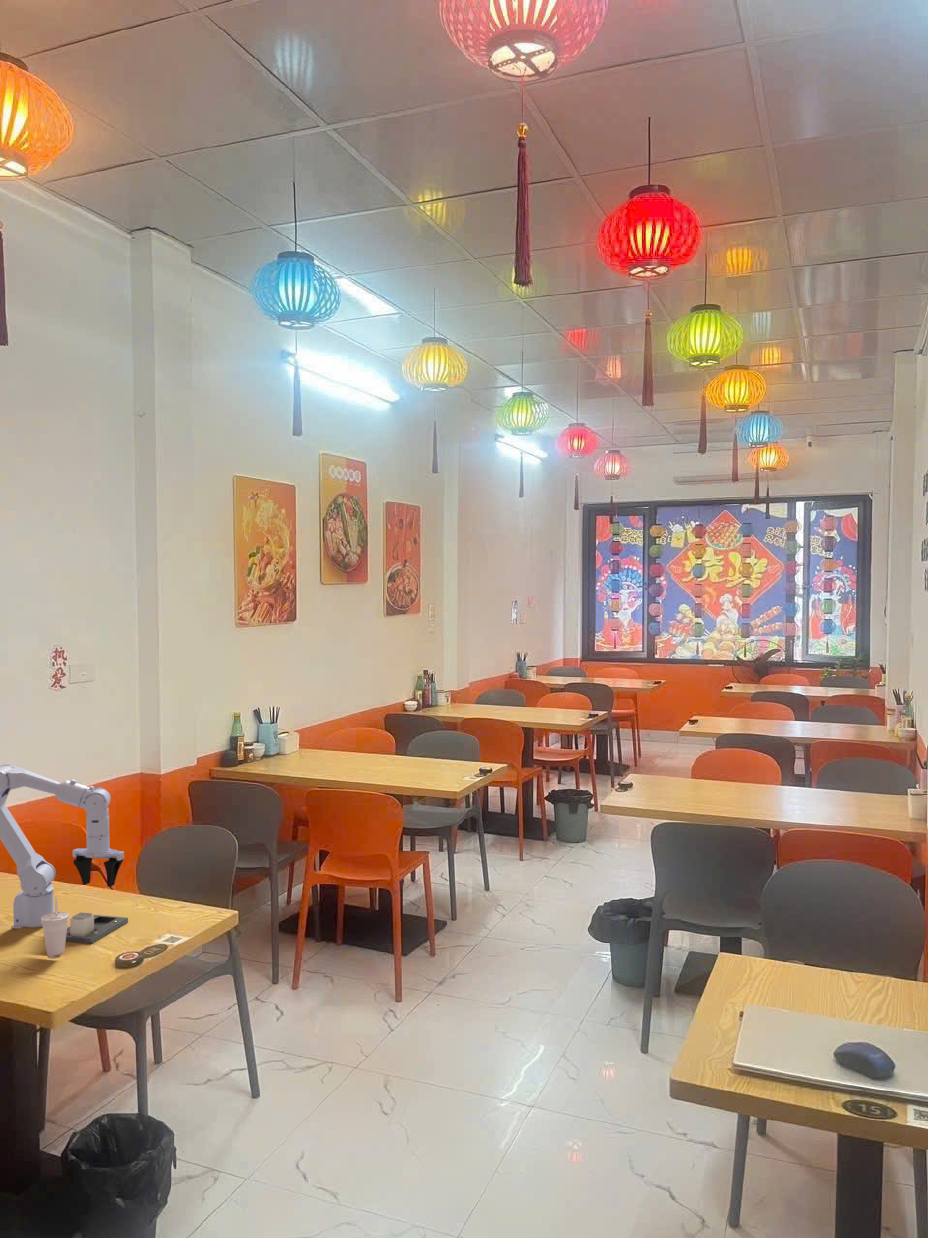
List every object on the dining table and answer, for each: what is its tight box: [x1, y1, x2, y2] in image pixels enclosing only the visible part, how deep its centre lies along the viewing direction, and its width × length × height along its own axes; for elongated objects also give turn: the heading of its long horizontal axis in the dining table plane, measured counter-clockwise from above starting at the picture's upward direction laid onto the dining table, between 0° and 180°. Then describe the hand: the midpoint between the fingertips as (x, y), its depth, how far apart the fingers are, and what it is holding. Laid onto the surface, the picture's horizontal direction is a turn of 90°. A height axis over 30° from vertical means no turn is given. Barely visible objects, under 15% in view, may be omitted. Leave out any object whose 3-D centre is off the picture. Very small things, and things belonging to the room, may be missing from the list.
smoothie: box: [41, 898, 71, 959], centre depth 213 cm, size 6×6×14 cm
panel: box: [65, 914, 129, 945], centre depth 227 cm, size 11×15×2 cm
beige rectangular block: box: [69, 912, 95, 937], centre depth 223 cm, size 4×4×6 cm
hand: (98, 884), depth 236 cm, fingers open, 7 cm apart
